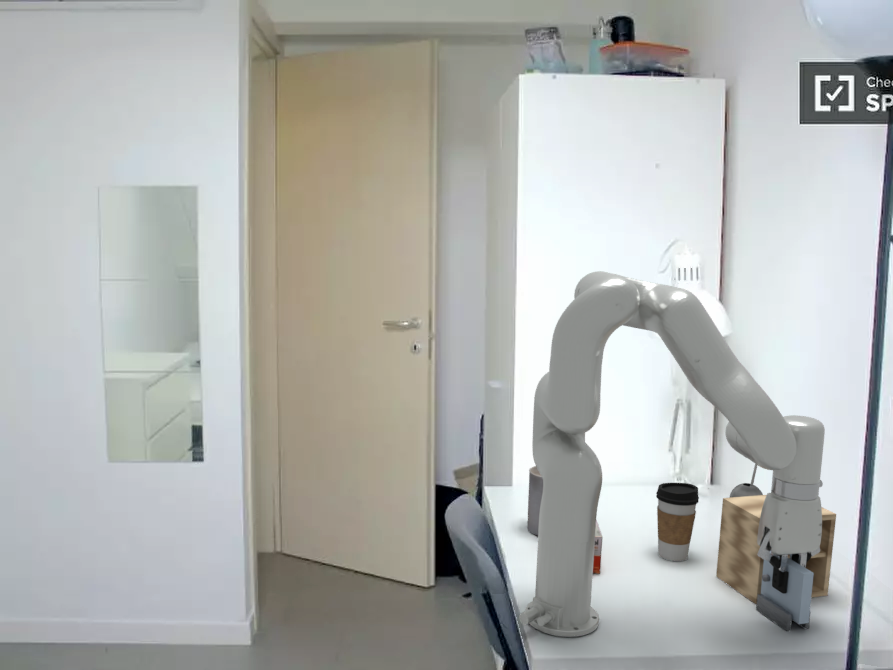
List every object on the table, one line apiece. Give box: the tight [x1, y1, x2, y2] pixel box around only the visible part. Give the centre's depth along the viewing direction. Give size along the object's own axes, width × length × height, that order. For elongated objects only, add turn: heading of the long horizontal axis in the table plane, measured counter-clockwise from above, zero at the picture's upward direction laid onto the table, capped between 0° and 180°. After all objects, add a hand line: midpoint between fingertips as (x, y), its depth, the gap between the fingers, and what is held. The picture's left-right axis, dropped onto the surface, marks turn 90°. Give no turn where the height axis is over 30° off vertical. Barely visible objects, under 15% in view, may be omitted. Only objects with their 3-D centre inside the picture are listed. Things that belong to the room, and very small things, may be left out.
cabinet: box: [715, 494, 837, 605], centre depth 156 cm, size 12×16×16 cm
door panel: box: [761, 550, 814, 625], centre depth 143 cm, size 10×3×9 cm, turn 17°
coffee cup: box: [655, 482, 700, 562], centre depth 169 cm, size 8×8×15 cm
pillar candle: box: [526, 465, 543, 536], centre depth 180 cm, size 10×10×15 cm
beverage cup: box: [728, 463, 764, 498], centre depth 170 cm, size 7×7×20 cm
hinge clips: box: [755, 594, 812, 632], centre depth 144 cm, size 8×5×3 cm, turn 17°
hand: (785, 588), depth 143 cm, fingers closed on door panel, 2 cm apart
